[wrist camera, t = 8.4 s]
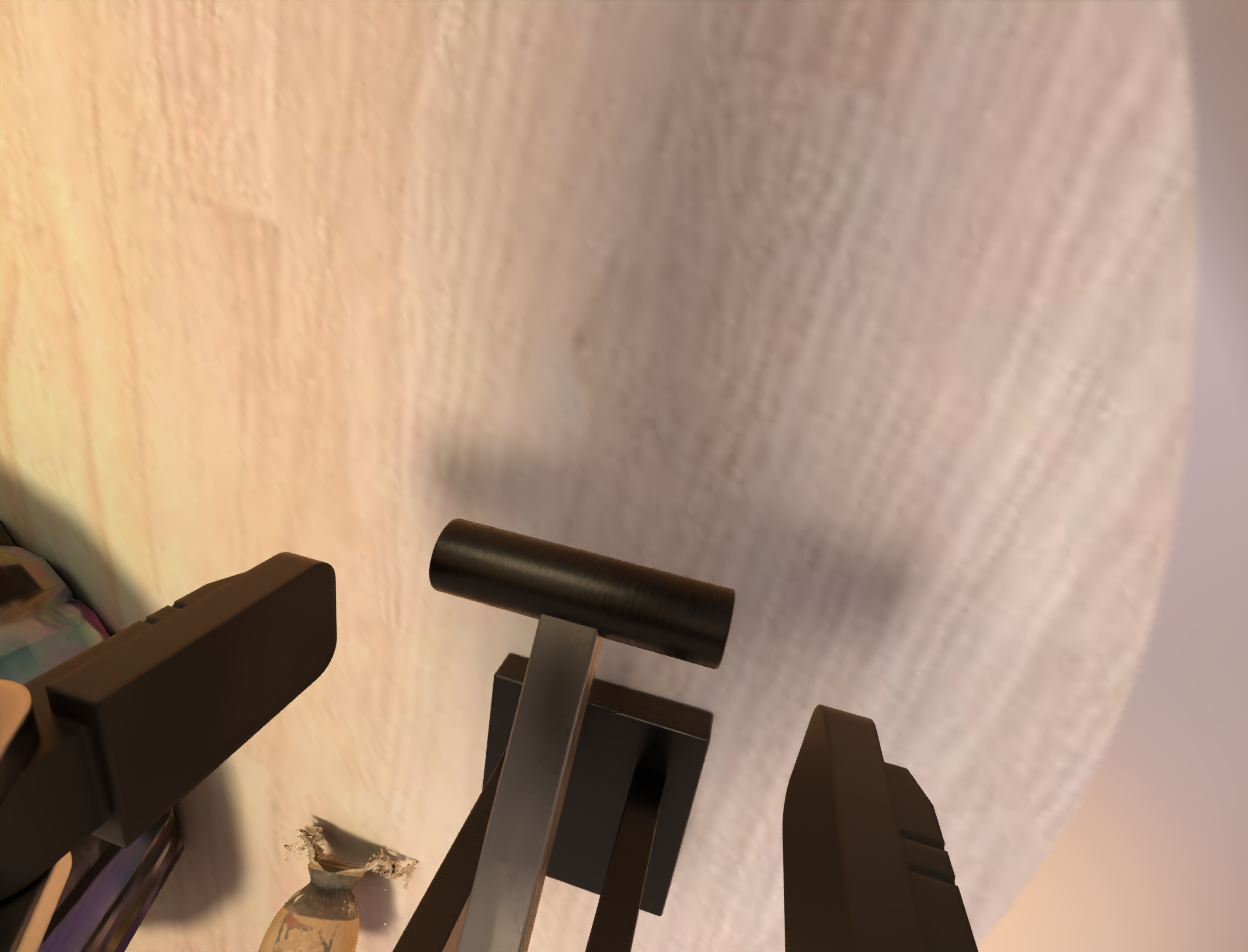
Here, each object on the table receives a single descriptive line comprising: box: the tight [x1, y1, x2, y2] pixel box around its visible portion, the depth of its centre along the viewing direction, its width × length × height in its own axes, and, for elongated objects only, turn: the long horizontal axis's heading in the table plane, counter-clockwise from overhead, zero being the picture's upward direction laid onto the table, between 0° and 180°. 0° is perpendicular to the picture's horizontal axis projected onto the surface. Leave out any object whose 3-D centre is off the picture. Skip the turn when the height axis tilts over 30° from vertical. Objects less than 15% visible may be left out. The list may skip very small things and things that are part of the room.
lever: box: [429, 519, 735, 952], centre depth 11 cm, size 14×6×2 cm, turn 170°
